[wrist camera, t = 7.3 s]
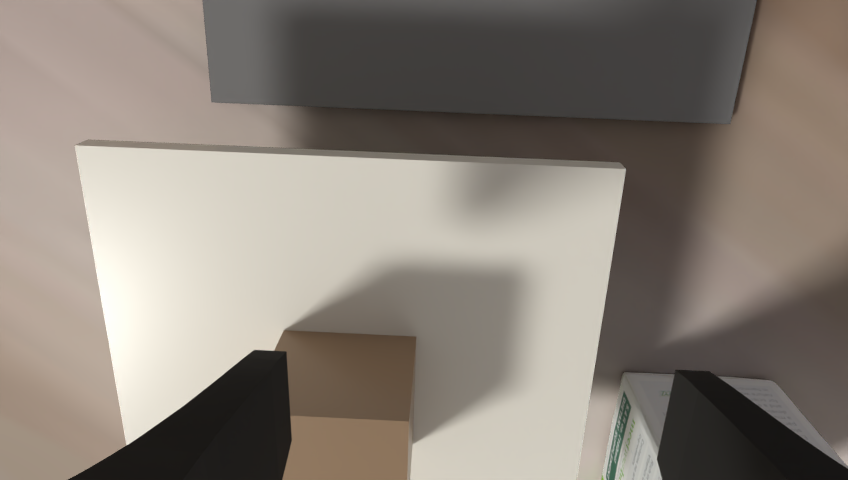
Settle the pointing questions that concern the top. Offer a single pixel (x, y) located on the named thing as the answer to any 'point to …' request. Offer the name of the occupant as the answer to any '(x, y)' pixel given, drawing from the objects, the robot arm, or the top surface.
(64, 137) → the top surface
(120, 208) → the cover sheet
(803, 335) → the top surface
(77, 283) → the top surface
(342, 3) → the charcoal mat
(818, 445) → the syrup box
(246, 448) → the robot arm
